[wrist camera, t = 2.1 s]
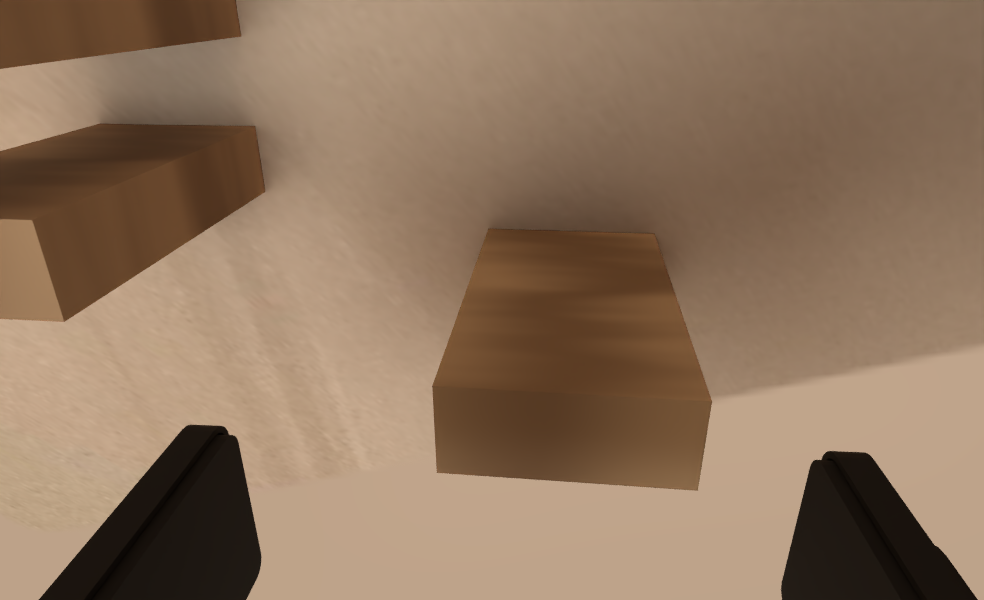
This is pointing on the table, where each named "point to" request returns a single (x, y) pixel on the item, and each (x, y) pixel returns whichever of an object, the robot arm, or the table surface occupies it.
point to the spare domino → (571, 366)
